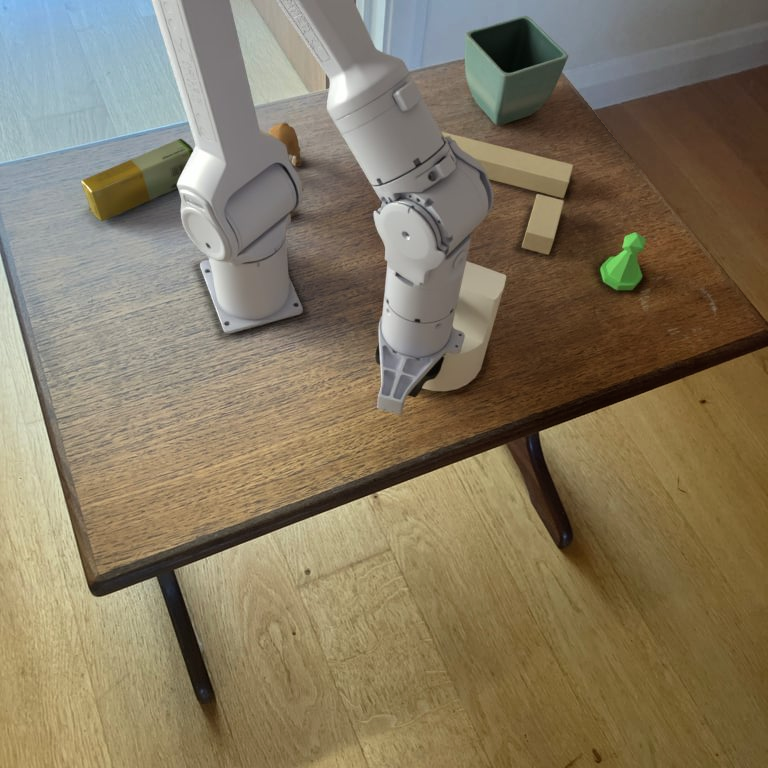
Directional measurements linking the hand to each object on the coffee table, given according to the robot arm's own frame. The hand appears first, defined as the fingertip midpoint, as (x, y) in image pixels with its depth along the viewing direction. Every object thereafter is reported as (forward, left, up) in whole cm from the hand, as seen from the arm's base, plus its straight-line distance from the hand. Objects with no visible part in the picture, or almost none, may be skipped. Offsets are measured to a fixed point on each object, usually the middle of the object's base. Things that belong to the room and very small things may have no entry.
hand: (406, 389), depth 75 cm
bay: (-22, +18, -2) cm, 29 cm away
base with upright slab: (-4, +5, -2) cm, 7 cm away
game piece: (-7, +27, -2) cm, 28 cm away
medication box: (-34, -16, -2) cm, 38 cm away
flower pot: (-35, +27, -2) cm, 44 cm away
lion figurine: (-29, -3, -2) cm, 29 cm away
